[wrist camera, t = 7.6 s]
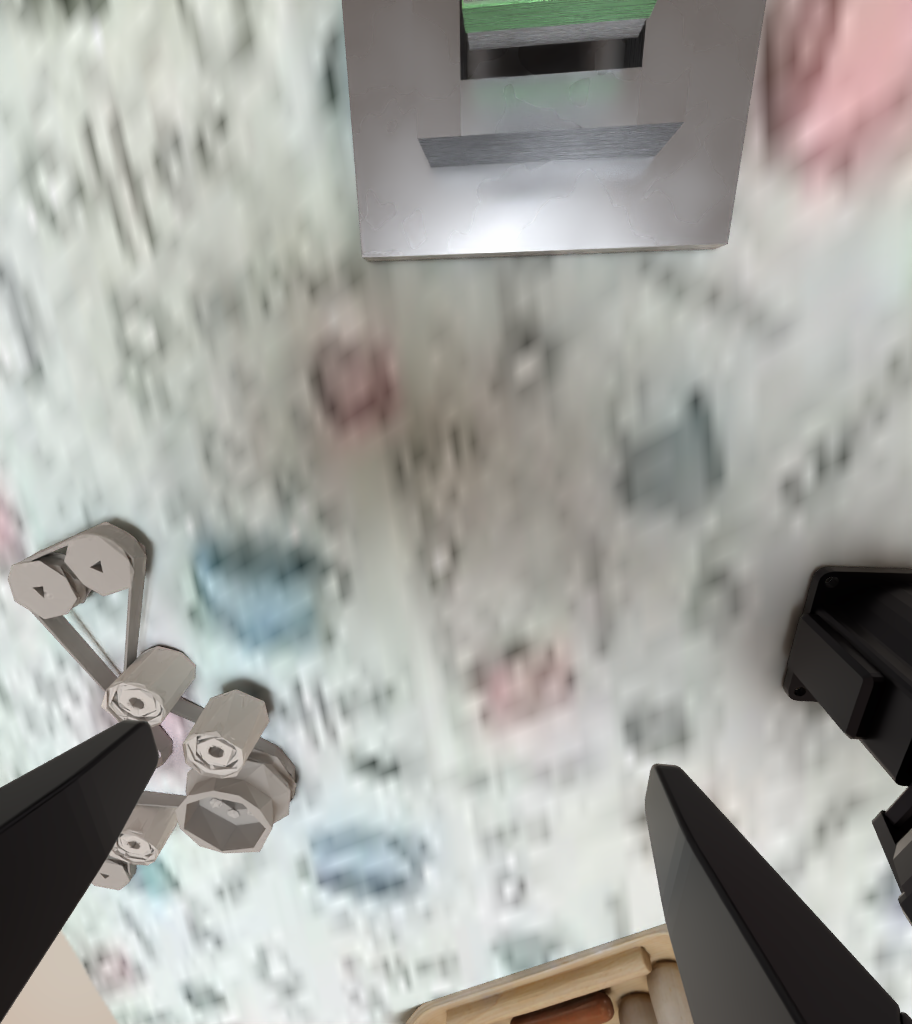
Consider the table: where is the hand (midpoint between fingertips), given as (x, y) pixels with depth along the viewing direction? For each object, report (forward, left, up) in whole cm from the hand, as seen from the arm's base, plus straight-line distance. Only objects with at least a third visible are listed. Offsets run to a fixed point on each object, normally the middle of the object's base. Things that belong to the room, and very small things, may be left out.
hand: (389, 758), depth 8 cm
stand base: (-3, -16, -13) cm, 20 cm away
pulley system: (+17, +15, -14) cm, 26 cm away
